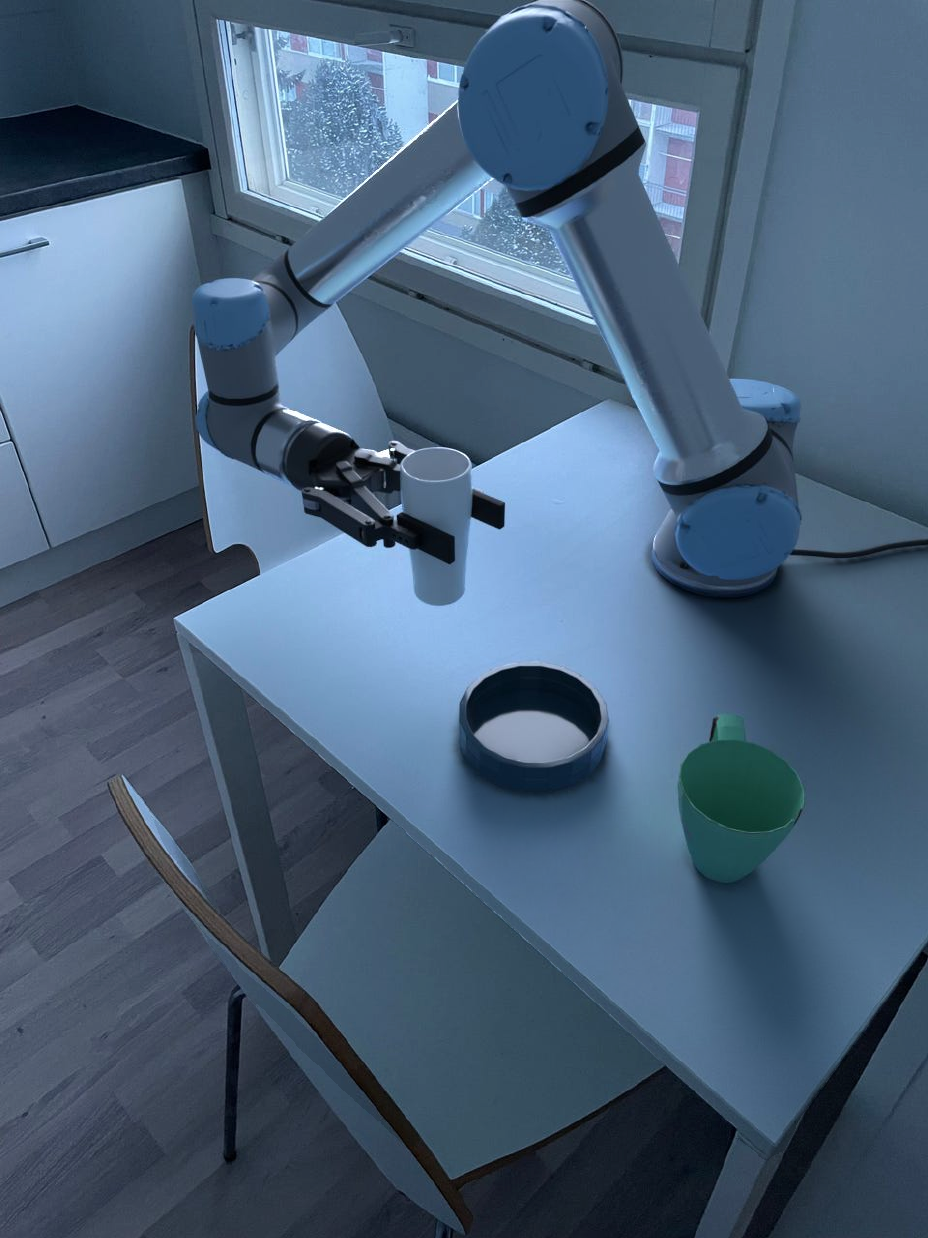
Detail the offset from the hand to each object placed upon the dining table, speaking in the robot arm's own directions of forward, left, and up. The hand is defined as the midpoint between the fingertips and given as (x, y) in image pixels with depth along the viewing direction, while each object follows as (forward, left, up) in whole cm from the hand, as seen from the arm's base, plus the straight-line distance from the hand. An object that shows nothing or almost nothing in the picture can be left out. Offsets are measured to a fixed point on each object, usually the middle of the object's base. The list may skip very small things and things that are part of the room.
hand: (477, 532), depth 83 cm
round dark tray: (-5, +8, -19) cm, 21 cm away
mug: (-21, +20, -19) cm, 35 cm away
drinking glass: (+4, -3, -10) cm, 11 cm away
